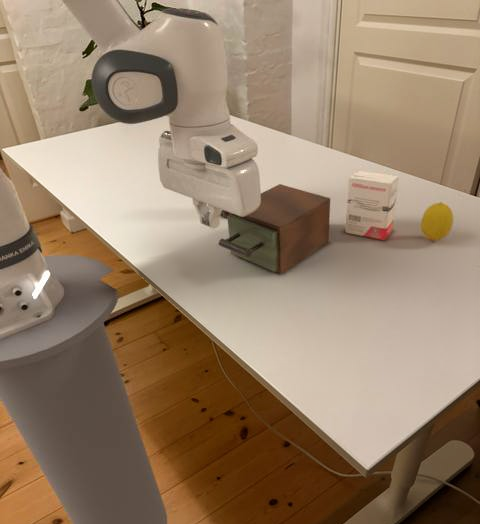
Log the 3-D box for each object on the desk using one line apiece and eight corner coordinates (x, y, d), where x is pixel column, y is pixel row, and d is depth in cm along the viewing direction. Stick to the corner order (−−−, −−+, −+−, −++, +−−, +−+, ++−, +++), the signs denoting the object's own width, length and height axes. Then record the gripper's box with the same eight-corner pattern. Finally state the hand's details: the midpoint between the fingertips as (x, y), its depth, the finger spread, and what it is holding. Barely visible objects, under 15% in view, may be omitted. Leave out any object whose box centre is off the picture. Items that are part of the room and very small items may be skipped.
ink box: (392, 230, 95) (400, 174, 88) (384, 241, 92) (391, 184, 85) (353, 223, 99) (357, 168, 92) (344, 233, 96) (347, 177, 89)
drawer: (256, 283, 82) (254, 244, 77) (213, 262, 89) (208, 226, 84) (319, 242, 92) (320, 206, 87) (275, 227, 98) (274, 192, 94)
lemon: (412, 237, 92) (419, 199, 87) (438, 232, 93) (445, 194, 88) (427, 250, 88) (435, 211, 83) (454, 244, 89) (463, 205, 84)
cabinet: (281, 274, 85) (279, 227, 79) (233, 253, 93) (229, 209, 87) (328, 243, 93) (330, 198, 87) (280, 226, 100) (279, 183, 95)
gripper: (142, 133, 73) (156, 215, 81) (234, 158, 61) (240, 251, 69) (173, 124, 76) (184, 203, 85) (266, 146, 64) (268, 235, 73)
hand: (210, 225), depth 77 cm, fingers closed
